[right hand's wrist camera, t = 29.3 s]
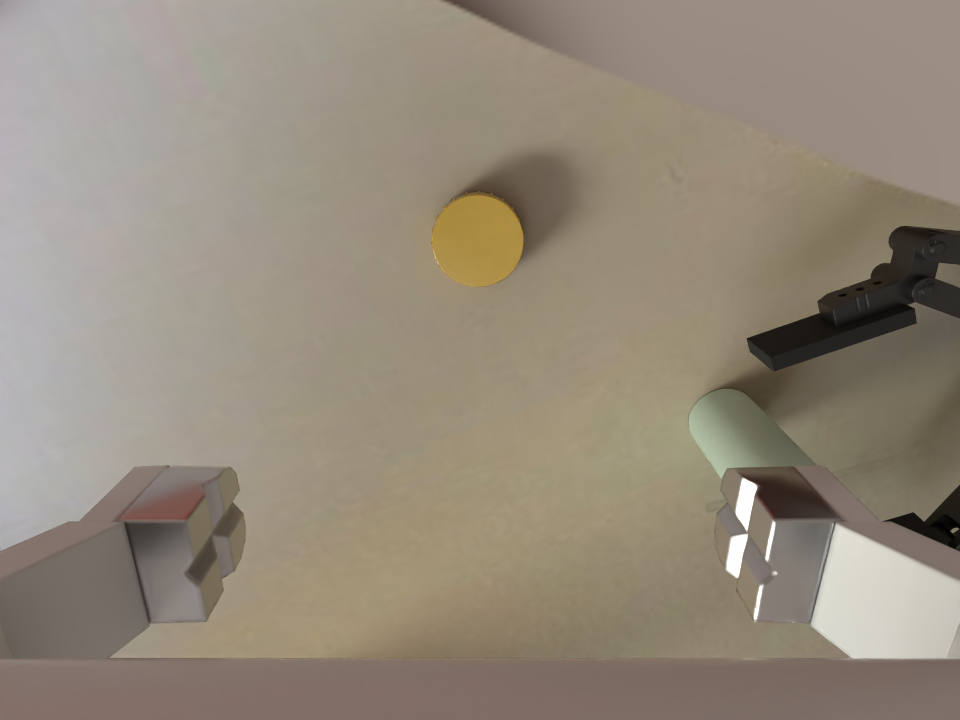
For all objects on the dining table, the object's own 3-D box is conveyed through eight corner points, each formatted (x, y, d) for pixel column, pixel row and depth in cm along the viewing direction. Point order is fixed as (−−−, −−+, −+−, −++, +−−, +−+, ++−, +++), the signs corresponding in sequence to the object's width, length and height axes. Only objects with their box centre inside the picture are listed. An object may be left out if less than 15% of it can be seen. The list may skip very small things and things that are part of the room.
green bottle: (695, 386, 38) (820, 535, 24) (763, 390, 38) (925, 542, 24) (682, 446, 39) (792, 619, 26) (747, 451, 40) (891, 626, 26)
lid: (536, 261, 35) (538, 267, 34) (454, 294, 36) (453, 302, 34) (503, 175, 34) (504, 178, 32) (418, 212, 34) (415, 216, 33)
